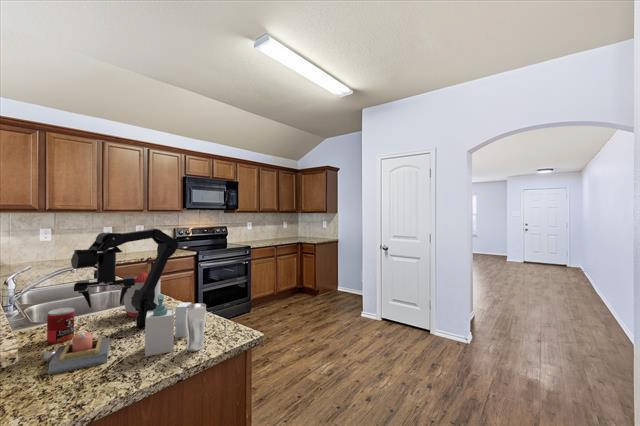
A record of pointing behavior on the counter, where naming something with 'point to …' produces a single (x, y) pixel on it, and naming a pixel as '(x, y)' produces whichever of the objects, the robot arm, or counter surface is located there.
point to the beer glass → (195, 326)
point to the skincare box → (181, 320)
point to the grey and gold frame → (77, 356)
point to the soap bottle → (159, 329)
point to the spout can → (82, 342)
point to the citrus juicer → (138, 285)
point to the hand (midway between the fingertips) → (105, 305)
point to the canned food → (60, 325)
